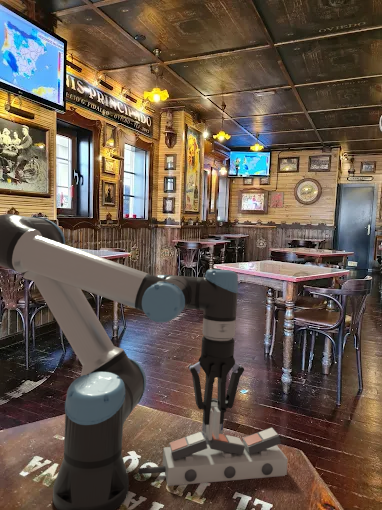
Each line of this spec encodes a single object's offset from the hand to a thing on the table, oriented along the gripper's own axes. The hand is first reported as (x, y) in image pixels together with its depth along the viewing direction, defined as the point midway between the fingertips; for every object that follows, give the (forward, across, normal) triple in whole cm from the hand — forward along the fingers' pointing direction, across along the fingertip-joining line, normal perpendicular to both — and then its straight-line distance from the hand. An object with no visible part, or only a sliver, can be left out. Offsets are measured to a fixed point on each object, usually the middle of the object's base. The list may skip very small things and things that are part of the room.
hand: (212, 436), depth 86 cm
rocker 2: (+2, +3, 0) cm, 4 cm away
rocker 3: (+3, +13, 0) cm, 13 cm away
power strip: (+8, 0, 0) cm, 8 cm away
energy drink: (+8, +3, +10) cm, 13 cm away
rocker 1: (+2, -6, 0) cm, 6 cm away
